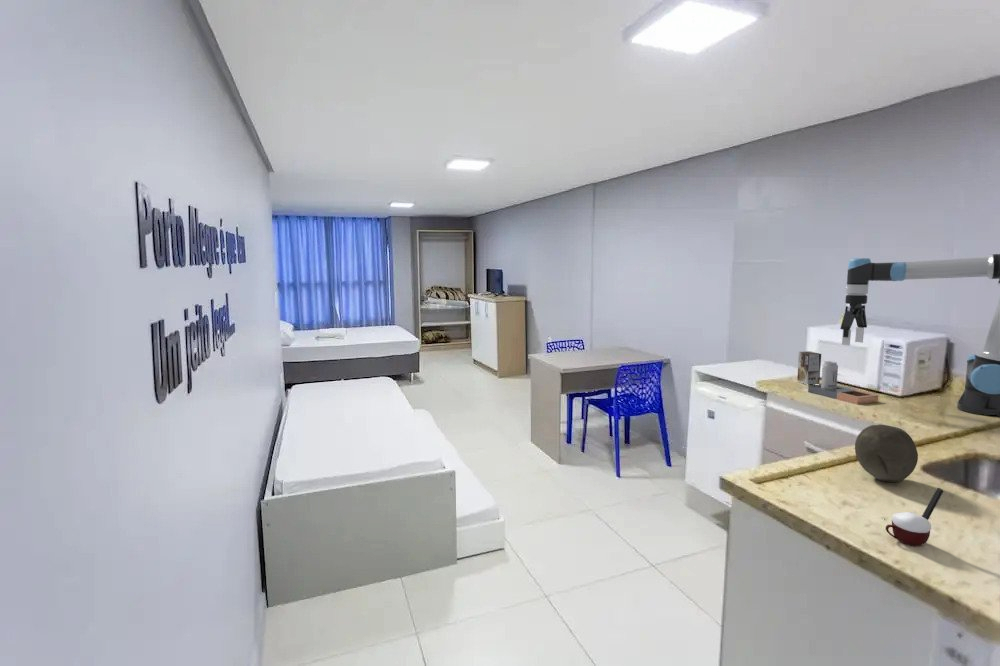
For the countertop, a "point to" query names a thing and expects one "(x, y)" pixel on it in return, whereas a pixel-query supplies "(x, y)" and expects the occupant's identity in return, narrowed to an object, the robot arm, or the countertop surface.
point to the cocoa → (914, 524)
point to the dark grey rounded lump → (886, 452)
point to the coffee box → (809, 367)
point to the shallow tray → (844, 394)
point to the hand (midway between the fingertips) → (852, 343)
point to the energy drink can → (829, 375)
